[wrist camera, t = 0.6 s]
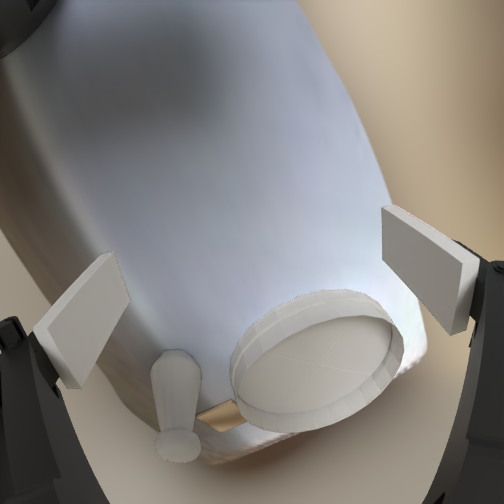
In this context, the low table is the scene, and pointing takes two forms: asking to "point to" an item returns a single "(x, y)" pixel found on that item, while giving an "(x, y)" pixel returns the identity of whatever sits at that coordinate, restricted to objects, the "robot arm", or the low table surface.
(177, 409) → the salt shaker
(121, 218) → the low table surface
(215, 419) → the cork coaster
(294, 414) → the dish
